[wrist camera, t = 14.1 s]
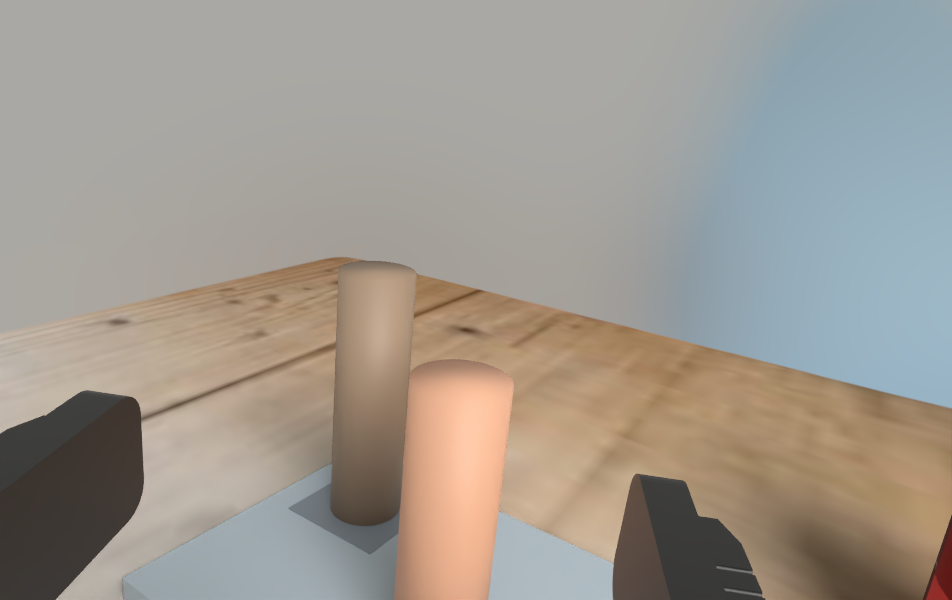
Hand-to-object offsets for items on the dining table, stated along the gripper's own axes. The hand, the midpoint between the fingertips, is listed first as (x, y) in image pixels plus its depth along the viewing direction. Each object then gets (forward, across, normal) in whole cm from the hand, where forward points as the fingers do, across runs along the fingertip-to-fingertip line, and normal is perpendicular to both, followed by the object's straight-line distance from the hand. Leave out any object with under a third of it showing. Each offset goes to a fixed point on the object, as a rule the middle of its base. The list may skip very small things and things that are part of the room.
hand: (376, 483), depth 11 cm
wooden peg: (+10, -1, +15) cm, 18 cm away
